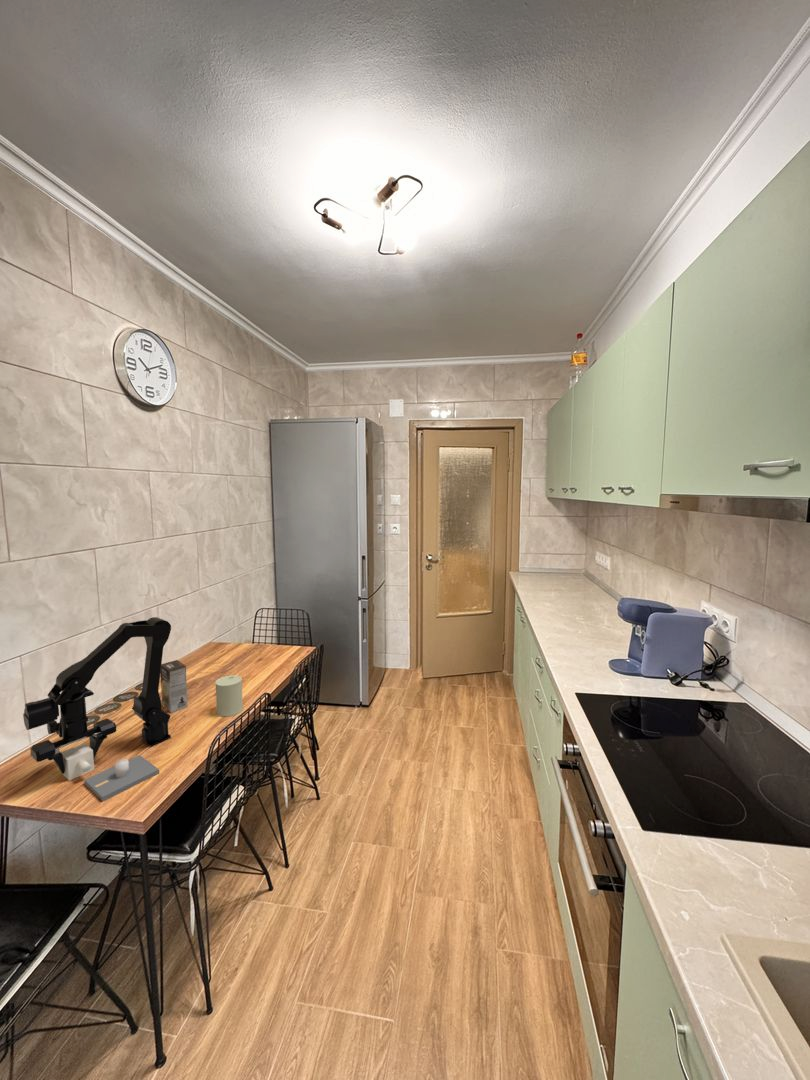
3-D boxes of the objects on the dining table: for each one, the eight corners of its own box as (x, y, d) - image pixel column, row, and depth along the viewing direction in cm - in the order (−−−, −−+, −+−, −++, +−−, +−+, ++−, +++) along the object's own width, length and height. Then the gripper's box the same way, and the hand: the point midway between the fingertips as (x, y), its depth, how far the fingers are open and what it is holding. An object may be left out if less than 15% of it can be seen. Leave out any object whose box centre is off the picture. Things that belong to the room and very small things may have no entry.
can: (246, 704, 163) (245, 673, 162) (238, 716, 154) (237, 684, 153) (222, 704, 163) (220, 674, 162) (212, 716, 154) (210, 684, 153)
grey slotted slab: (139, 758, 129) (138, 743, 129) (159, 773, 122) (158, 757, 122) (84, 783, 118) (83, 767, 117) (102, 801, 111) (101, 784, 110)
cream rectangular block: (86, 762, 127) (84, 743, 127) (99, 774, 122) (97, 754, 121) (61, 772, 122) (59, 752, 122) (73, 785, 117) (72, 764, 116)
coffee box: (161, 705, 163) (159, 664, 161) (179, 699, 167) (177, 659, 166) (170, 713, 157) (168, 670, 155) (188, 706, 161) (186, 665, 160)
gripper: (100, 695, 134) (103, 742, 135) (22, 720, 118) (26, 773, 120) (115, 704, 127) (118, 754, 129) (35, 732, 112) (39, 788, 114)
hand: (77, 766), depth 123 cm, fingers open, 7 cm apart
